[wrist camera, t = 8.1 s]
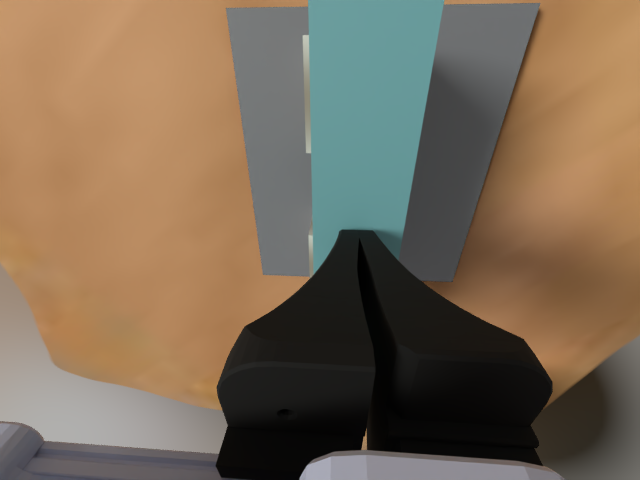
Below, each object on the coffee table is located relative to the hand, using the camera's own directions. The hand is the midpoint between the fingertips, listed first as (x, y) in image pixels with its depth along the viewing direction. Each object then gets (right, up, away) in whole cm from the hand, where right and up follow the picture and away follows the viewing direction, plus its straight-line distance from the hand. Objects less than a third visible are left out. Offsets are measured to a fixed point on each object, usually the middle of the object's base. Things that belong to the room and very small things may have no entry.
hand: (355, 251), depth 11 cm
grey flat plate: (+2, +5, +8) cm, 10 cm away
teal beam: (0, +3, +5) cm, 5 cm away
